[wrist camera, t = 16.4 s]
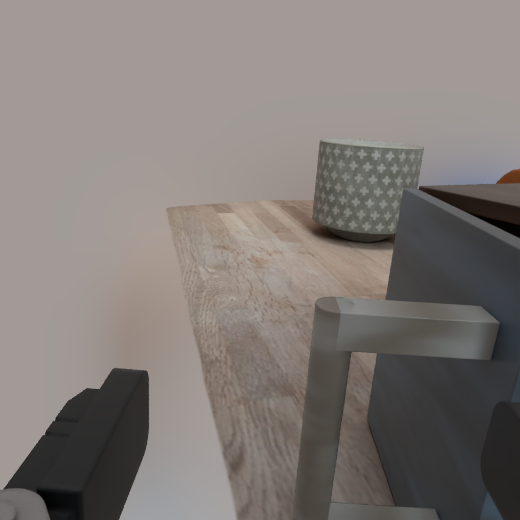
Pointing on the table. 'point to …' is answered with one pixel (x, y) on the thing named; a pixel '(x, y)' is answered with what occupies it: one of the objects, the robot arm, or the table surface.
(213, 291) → the table surface
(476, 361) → the door
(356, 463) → the table surface
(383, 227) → the planter
